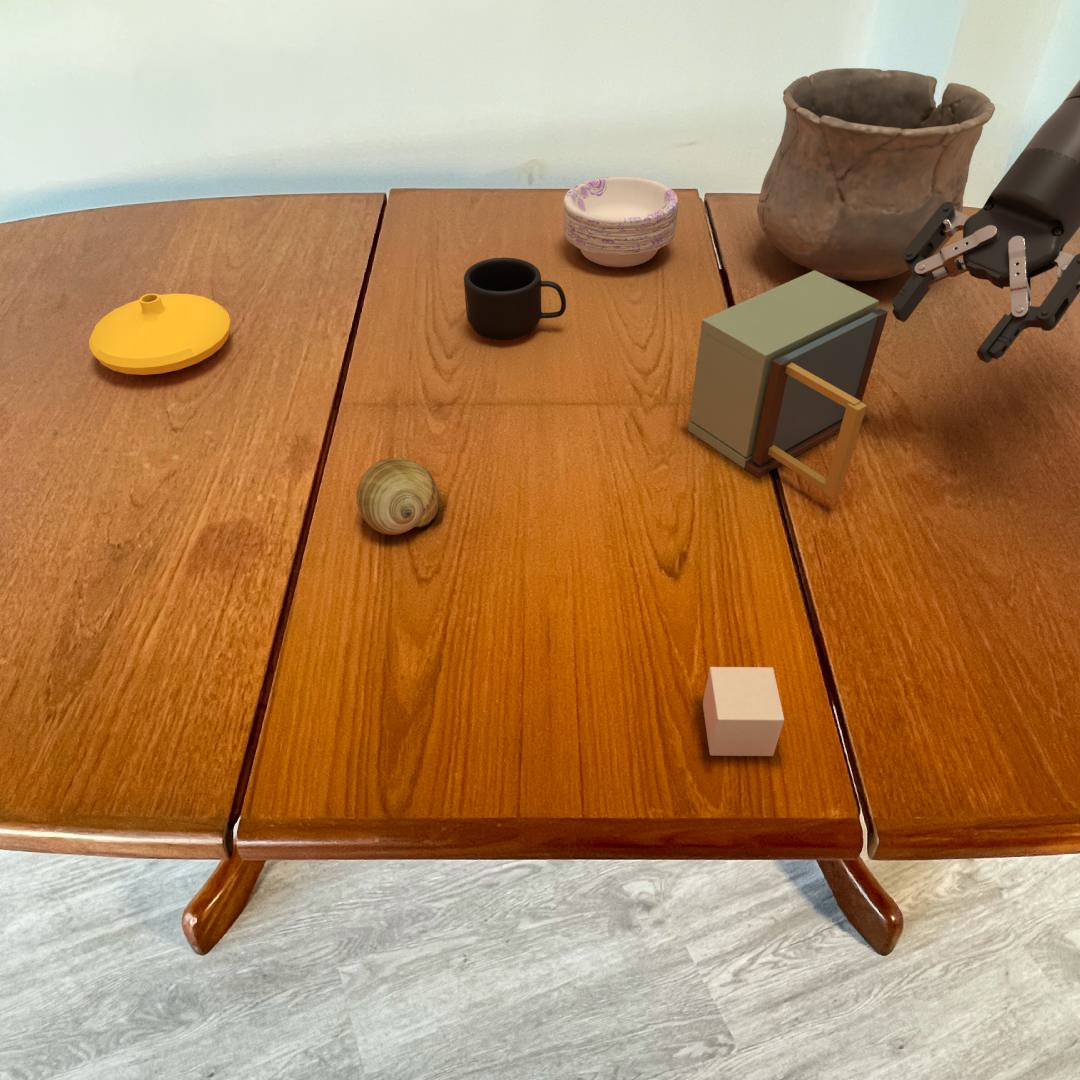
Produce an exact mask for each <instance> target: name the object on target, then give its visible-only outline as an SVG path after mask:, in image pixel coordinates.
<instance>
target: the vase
mask: <svg viewBox="0 0 1080 1080" xmlns="http://www.w3.org/2000/svg"><path fill="white" fill-rule="evenodd" d="M231 321H232V320H231V318H230V315H229V312H228V311H227V310H226V309H225V308H224V307H223V306H222V305H221V304H219V303H218V302H216V301H214V300H212V299H210V298H207V297H206V296H202V295H198V294H192V293H166V294H158V293H147V294H144V295H142V296H140V298H139V299H137V300H134V301H130V302H127V303H125V304H123V305H121V306H119V307H117V308H114V309H113V310H112V311H110V312H108V313H107V314H105V315H104V316H103V317H102V318H100V320H99V321H98V322H97V323H96V324H95V326H94V328H93V330H92V332H91V335H90V337H89V339H88V346H89V351H90V352H91V353H92V354H93V356H94V357H95V358H96V359H97V361H98V362H99V363H100V364H101V365H102V366H104V367H106V368H108V369H110V370H111V371H114V372H118V373H122V374H127V375H140V376H141V375H142V376H145V375H157V374H158V375H159V374H165V373H166V374H167V373H169V372H174V371H179V370H182V369H185V368H187V367H191V366H193V365H196V364H198V363H200V362H202V361H204V360H206V359H208V358H209V357H211V356H212V355H213V354H215V353H216V352H218V350H220V349H221V348H223V346H224V345H225V343H226V342H227V340H228V339H229V335H230V331H231Z"/></svg>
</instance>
